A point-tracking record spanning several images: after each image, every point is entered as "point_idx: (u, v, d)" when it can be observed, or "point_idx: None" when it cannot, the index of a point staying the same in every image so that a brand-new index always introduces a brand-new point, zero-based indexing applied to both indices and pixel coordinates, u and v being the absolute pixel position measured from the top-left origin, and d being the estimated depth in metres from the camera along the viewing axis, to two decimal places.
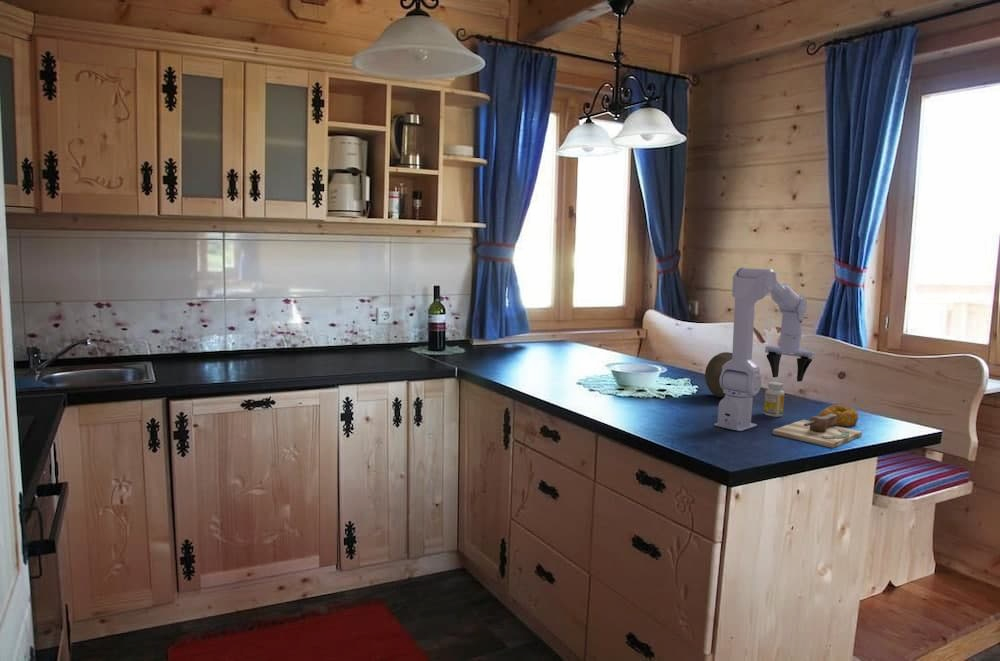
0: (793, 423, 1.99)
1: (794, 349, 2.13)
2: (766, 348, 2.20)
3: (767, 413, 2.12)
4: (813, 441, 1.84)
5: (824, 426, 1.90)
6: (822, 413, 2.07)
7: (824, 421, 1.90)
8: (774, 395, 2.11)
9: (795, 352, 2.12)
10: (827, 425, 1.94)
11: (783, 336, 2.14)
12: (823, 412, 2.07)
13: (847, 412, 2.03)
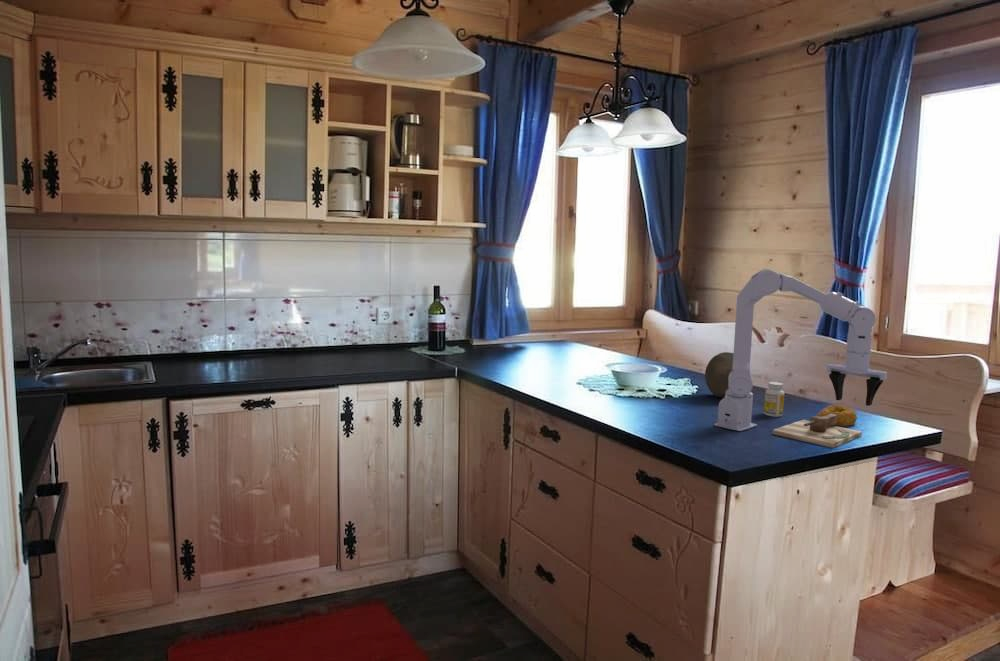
0: (793, 423, 1.99)
1: (863, 369, 1.86)
2: (828, 367, 1.94)
3: (767, 413, 2.12)
4: (813, 441, 1.84)
5: (824, 426, 1.90)
6: (820, 413, 2.07)
7: (824, 421, 1.90)
8: (774, 395, 2.11)
9: (864, 372, 1.86)
10: (827, 425, 1.94)
11: (850, 354, 1.87)
12: (822, 412, 2.07)
13: (846, 412, 2.03)
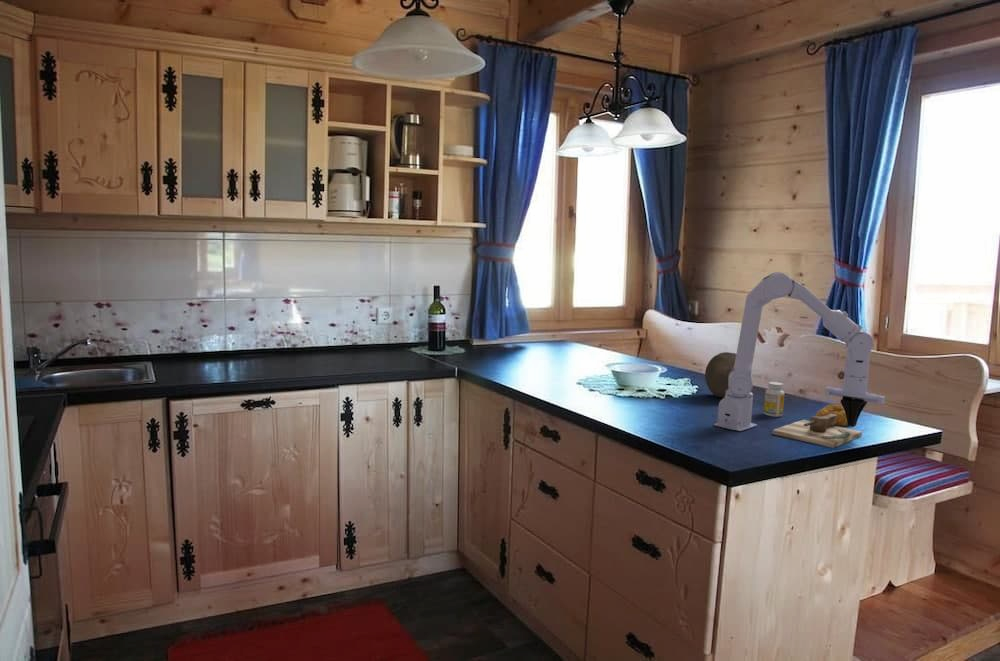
0: (793, 423, 1.99)
1: (861, 393, 1.87)
2: (826, 390, 1.94)
3: (767, 413, 2.12)
4: (813, 441, 1.84)
5: (824, 426, 1.90)
6: (819, 413, 2.07)
7: (824, 421, 1.90)
8: (774, 395, 2.11)
9: (862, 396, 1.86)
10: (827, 425, 1.94)
11: (848, 378, 1.88)
12: (820, 412, 2.07)
13: (844, 412, 2.04)
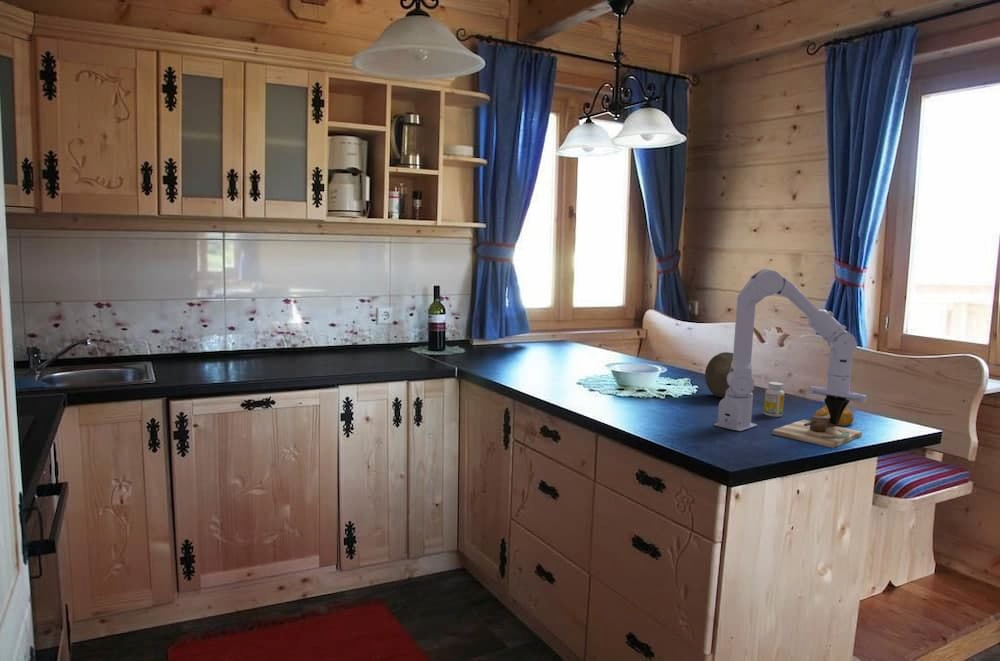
0: (793, 423, 1.99)
1: (843, 391, 1.91)
2: (810, 389, 1.98)
3: (767, 413, 2.12)
4: (813, 441, 1.84)
5: (824, 426, 1.90)
6: (817, 413, 2.07)
7: (824, 421, 1.90)
8: (774, 395, 2.11)
9: (845, 395, 1.90)
10: (827, 425, 1.94)
11: (831, 377, 1.92)
12: (819, 412, 2.07)
13: (843, 412, 2.04)
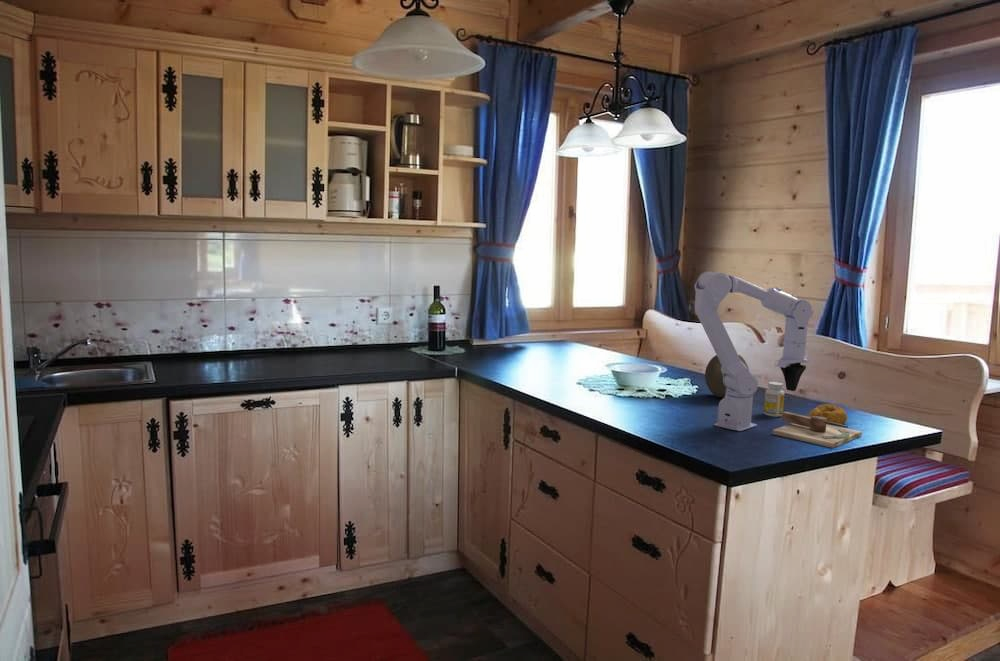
0: None
1: (784, 356, 1.99)
2: None
3: (767, 413, 2.12)
4: (813, 441, 1.84)
5: None
6: (811, 413, 2.07)
7: None
8: (774, 395, 2.11)
9: (781, 359, 1.99)
10: None
11: None
12: (812, 412, 2.07)
13: (836, 412, 2.04)
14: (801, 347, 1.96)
